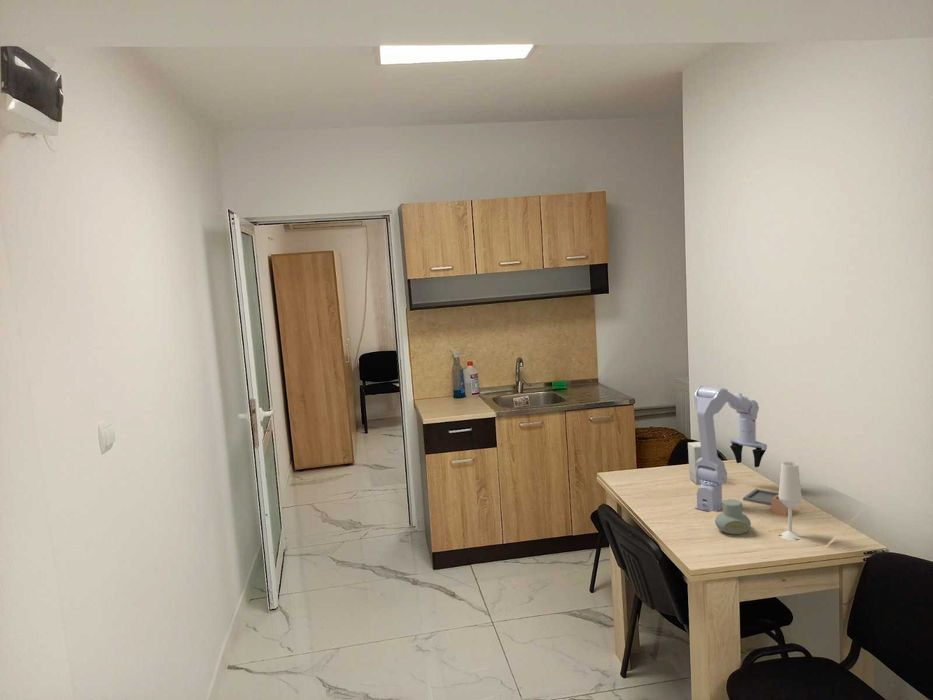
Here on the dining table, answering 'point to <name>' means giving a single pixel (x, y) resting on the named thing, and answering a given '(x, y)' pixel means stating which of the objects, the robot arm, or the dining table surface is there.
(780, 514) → the stand
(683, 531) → the dining table surface
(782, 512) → the brown cube box
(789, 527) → the champagne flute
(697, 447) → the skincare box
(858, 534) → the dining table surface
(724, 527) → the air freshener
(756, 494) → the tray
